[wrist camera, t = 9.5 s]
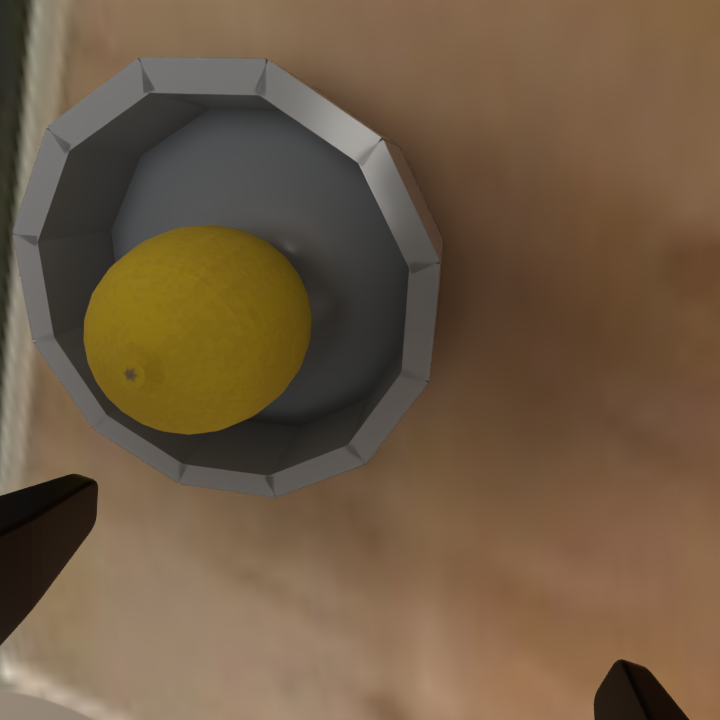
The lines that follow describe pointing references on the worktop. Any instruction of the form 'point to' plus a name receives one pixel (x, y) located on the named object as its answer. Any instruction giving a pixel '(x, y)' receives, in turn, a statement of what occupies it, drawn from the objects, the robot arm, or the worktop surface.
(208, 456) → the bowl
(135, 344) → the lemon
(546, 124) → the worktop surface
